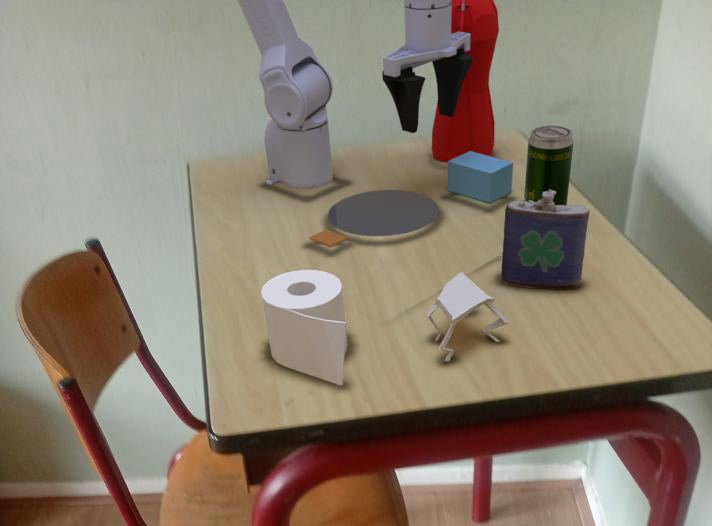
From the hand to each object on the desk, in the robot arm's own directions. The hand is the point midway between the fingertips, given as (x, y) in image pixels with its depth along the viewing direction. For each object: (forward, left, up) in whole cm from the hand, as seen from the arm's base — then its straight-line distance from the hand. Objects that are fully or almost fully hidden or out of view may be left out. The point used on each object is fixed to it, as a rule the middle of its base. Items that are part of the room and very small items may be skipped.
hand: (428, 123), depth 107 cm
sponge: (+6, +4, -10) cm, 12 cm away
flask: (+27, -11, -10) cm, 31 cm away
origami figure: (+27, -25, -10) cm, 38 cm away
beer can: (+19, +1, -10) cm, 21 cm away
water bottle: (-5, +14, -10) cm, 18 cm away
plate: (0, -9, -10) cm, 14 cm away
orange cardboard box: (0, -19, -10) cm, 22 cm away
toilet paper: (+18, -39, -10) cm, 44 cm away
